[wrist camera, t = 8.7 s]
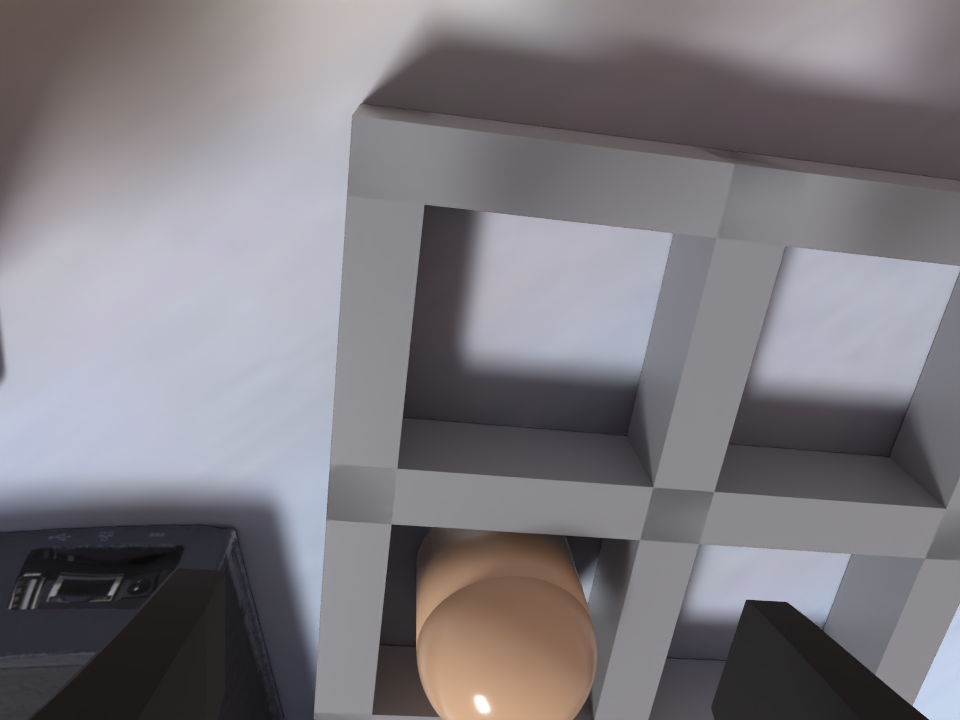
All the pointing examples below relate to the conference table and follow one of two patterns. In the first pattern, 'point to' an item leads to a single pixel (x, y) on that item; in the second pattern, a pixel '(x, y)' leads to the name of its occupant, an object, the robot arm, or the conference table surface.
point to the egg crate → (634, 410)
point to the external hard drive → (115, 608)
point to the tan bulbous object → (502, 626)
